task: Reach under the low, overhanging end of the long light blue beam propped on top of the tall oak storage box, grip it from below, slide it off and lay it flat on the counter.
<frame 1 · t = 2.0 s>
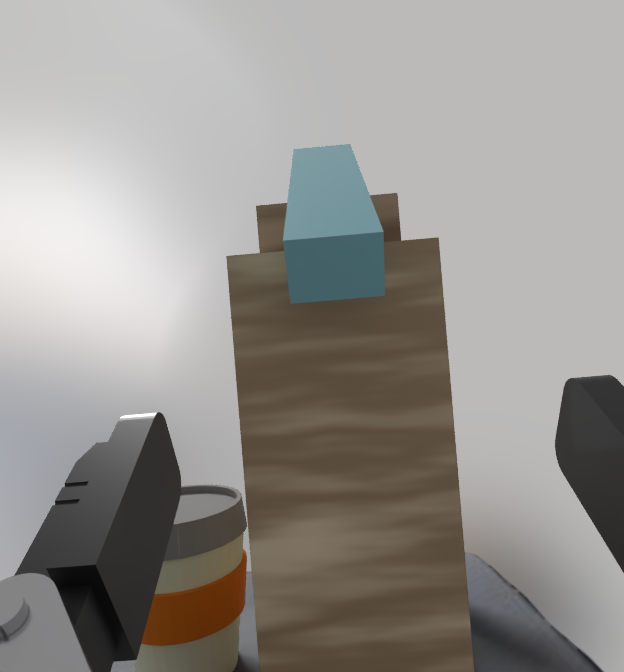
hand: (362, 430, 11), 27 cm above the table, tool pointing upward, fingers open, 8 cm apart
long light blue beam: (327, 203, 38), point 39 cm above the table, touching storage box
reusable coffee cup: (189, 668, 49), on the table
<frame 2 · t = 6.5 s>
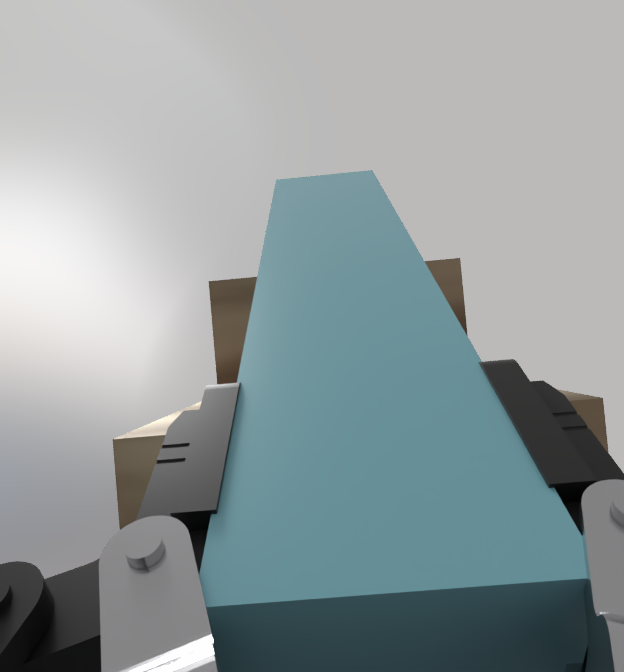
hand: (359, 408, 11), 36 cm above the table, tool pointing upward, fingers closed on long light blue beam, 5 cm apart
long light blue beam: (341, 303, 18), point 39 cm above the table, touching gripper, storage box
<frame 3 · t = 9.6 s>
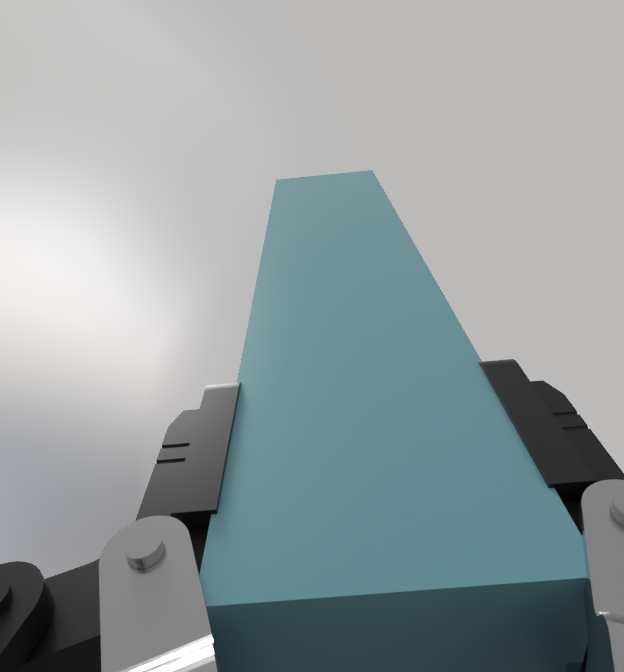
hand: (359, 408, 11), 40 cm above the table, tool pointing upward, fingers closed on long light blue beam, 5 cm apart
long light blue beam: (341, 303, 18), point 42 cm above the table, touching gripper
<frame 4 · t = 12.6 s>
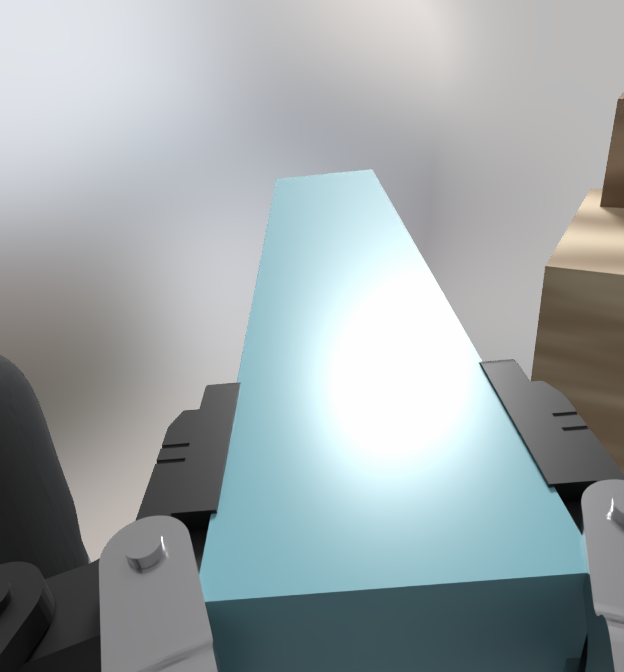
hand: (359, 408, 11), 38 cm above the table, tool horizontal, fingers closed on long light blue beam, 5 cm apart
long light blue beam: (341, 302, 18), point 37 cm above the table, tilted 30°, touching gripper
storage box: (605, 656, 42), on the table
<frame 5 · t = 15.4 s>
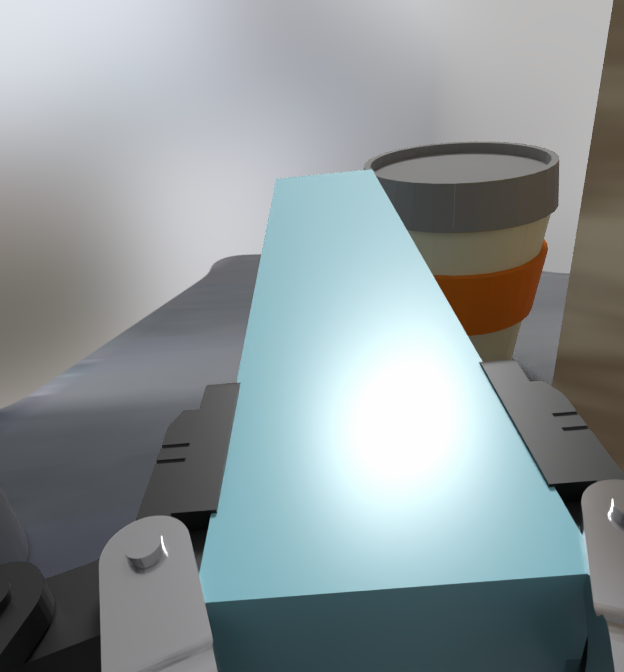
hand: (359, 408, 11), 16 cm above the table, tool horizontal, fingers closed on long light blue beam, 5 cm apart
long light blue beam: (341, 302, 18), point 15 cm above the table, tilted 31°, touching gripper
reusable coffee cup: (448, 359, 41), on the table
when the fingers open (6 cm above the table, at t = 17.5 s): long light blue beam drops 4 cm, point 1 cm above the table.
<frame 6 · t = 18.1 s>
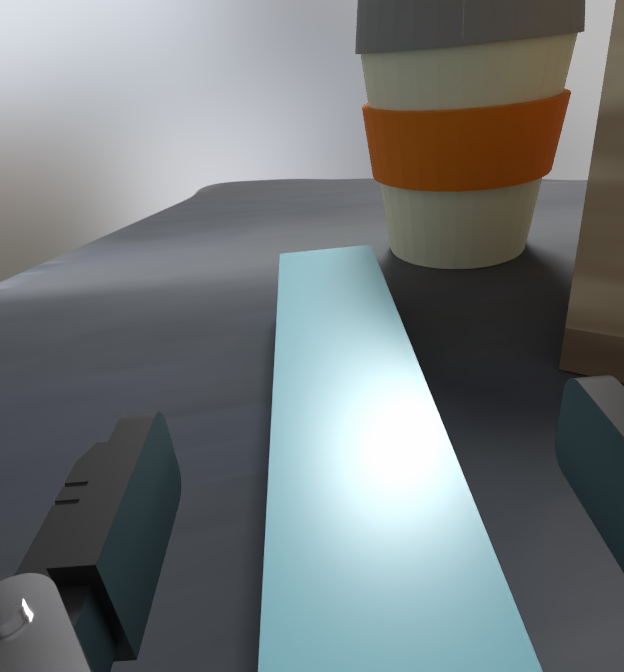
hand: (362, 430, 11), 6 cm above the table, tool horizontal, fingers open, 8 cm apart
long light blue beam: (347, 404, 19), point 1 cm above the table, tilted 30°
reusable coffee cup: (455, 247, 37), on the table
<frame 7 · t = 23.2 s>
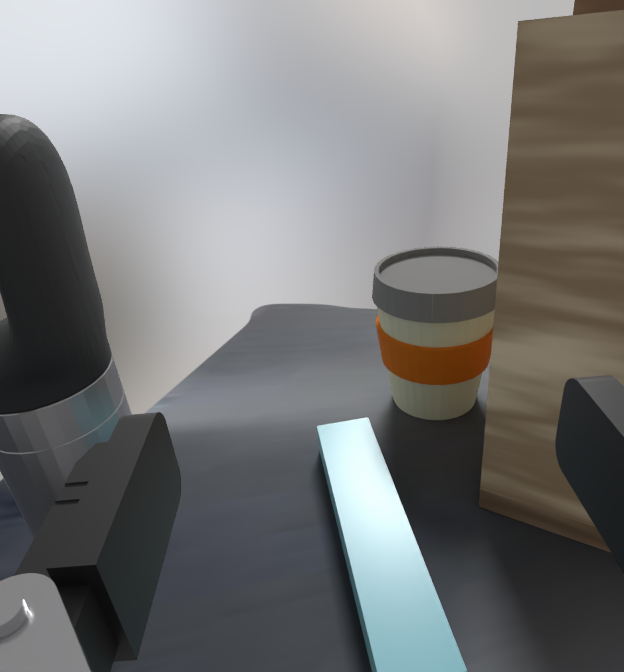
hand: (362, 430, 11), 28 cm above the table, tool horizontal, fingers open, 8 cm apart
long light blue beam: (373, 533, 41), point 1 cm above the table, tilted 30°
storage box: (584, 479, 46), on the table
reusable coffee cup: (433, 396, 59), on the table
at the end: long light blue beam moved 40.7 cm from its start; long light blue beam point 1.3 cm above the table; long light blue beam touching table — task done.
